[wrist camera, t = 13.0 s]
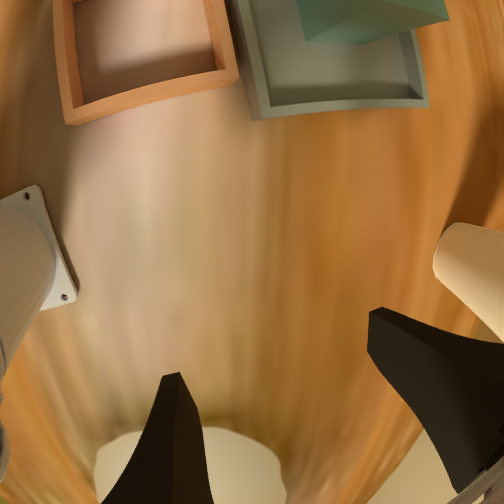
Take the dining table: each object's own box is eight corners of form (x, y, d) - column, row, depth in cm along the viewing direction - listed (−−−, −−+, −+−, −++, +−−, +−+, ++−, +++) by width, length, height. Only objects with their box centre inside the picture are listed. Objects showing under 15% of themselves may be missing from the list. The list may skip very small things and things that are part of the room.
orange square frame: (78, 125, 14) (65, 123, 12) (64, 0, 11) (52, -14, 8) (230, 85, 16) (239, 78, 14) (206, -34, 12) (211, -53, 10)
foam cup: (442, 195, 23) (565, 244, 11) (485, 217, 26) (578, 260, 14) (409, 292, 26) (509, 371, 14) (457, 296, 29) (538, 354, 17)
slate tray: (252, 121, 17) (261, 119, 15) (214, -58, 11) (219, -73, 10) (412, 107, 19) (429, 107, 17) (374, -42, 14) (388, -50, 12)
